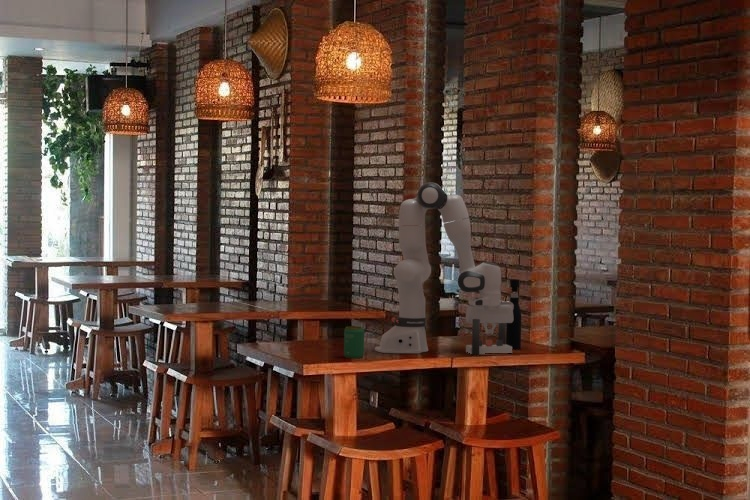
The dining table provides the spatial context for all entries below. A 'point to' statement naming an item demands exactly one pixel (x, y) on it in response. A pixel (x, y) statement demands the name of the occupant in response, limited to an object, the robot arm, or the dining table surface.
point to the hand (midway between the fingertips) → (489, 333)
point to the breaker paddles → (489, 342)
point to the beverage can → (354, 342)
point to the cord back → (502, 332)
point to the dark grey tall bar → (475, 336)
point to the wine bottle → (515, 327)
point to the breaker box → (491, 349)
